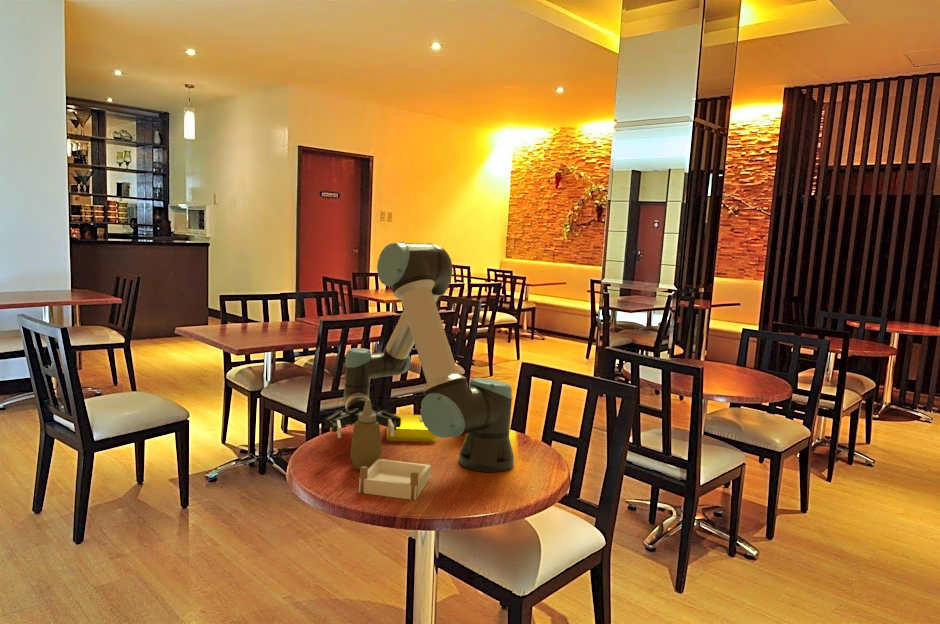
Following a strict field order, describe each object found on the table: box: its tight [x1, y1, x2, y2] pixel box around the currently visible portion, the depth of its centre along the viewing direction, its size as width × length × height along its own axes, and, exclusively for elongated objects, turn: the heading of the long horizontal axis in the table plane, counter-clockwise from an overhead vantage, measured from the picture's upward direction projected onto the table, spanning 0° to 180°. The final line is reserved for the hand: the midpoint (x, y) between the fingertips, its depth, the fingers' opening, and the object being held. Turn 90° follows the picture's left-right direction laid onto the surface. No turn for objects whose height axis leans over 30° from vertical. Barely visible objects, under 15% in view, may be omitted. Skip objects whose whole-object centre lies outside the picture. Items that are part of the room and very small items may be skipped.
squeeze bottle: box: [349, 399, 382, 471], centre depth 168 cm, size 8×8×18 cm
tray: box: [358, 458, 432, 501], centre depth 158 cm, size 14×14×6 cm
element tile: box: [386, 413, 438, 443], centre depth 199 cm, size 15×15×5 cm
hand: (366, 432), depth 167 cm, fingers open, 13 cm apart
